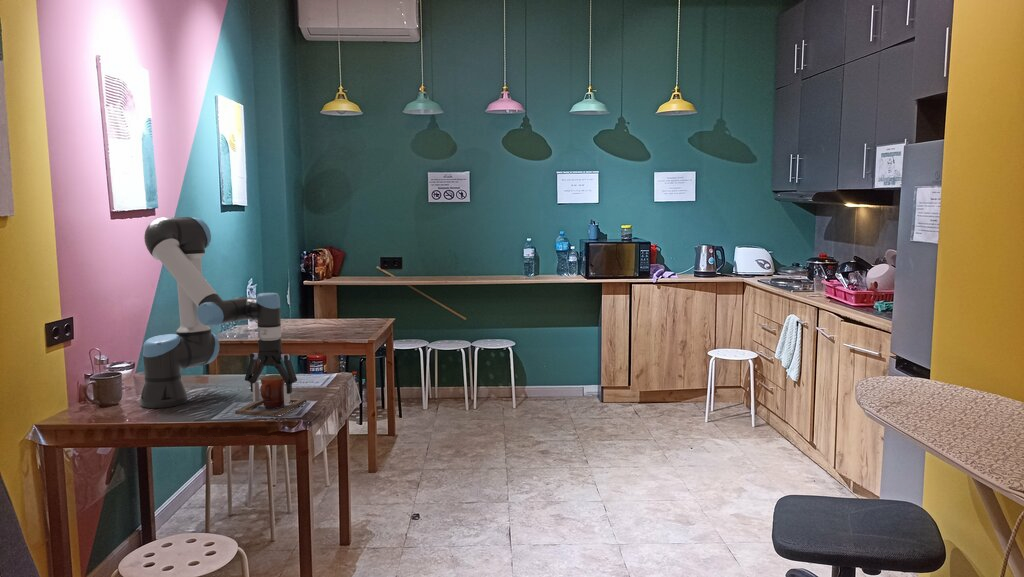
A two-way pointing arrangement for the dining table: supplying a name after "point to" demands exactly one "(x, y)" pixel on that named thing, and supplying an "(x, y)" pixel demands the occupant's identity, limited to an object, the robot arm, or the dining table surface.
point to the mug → (272, 391)
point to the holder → (257, 412)
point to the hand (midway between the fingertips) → (271, 402)
